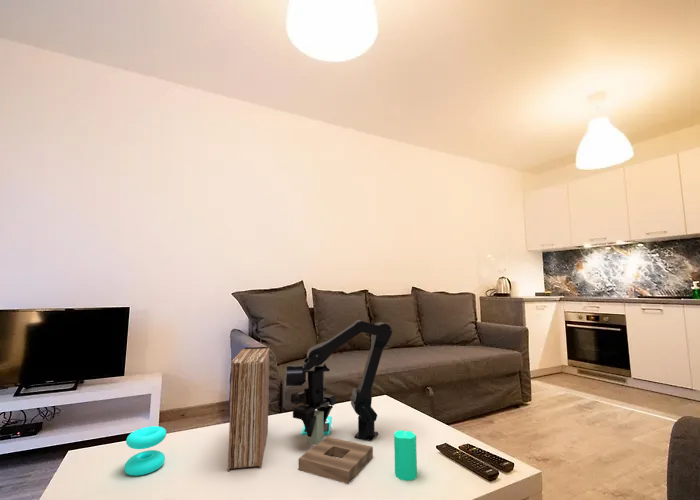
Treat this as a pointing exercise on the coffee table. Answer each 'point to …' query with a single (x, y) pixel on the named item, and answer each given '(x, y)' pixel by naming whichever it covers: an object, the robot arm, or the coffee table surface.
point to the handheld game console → (326, 427)
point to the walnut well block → (336, 459)
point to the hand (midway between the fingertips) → (315, 432)
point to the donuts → (146, 459)
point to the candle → (405, 455)
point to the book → (249, 407)
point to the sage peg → (317, 428)
